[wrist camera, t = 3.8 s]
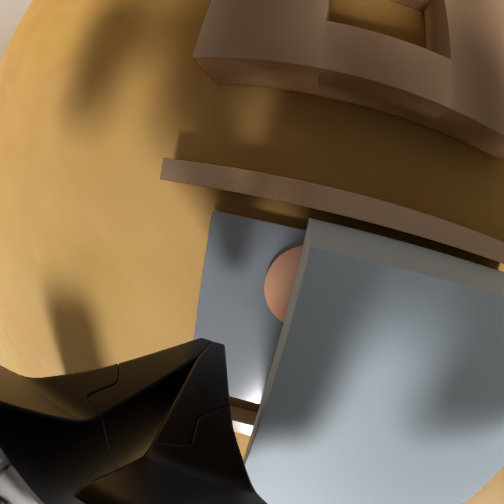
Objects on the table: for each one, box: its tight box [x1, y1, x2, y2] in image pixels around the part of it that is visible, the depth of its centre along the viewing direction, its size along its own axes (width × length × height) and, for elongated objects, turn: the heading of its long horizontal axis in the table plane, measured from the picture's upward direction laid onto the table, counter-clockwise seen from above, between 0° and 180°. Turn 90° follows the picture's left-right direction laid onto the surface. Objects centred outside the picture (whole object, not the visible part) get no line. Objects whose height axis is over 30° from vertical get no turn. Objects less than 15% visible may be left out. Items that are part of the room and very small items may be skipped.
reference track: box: [160, 158, 504, 436], centre depth 10 cm, size 20×11×1 cm, turn 79°
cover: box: [243, 218, 504, 504], centre depth 7 cm, size 9×9×6 cm
